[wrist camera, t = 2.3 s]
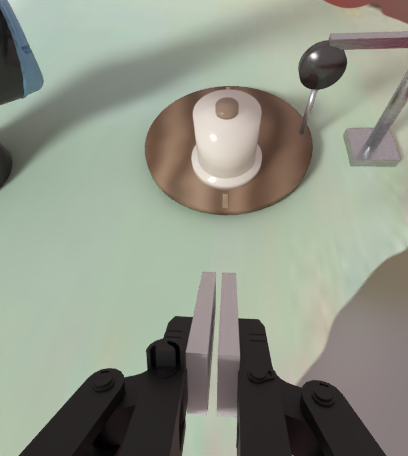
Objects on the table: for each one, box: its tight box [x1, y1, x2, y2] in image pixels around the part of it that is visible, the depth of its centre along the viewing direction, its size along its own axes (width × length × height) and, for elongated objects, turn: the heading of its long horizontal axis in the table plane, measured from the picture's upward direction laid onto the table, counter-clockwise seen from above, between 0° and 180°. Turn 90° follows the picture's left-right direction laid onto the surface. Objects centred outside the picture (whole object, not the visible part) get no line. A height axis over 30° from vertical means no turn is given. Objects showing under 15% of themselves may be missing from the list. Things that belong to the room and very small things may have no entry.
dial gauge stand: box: [298, 31, 408, 166], centre depth 41 cm, size 18×7×20 cm, turn 87°
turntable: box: [145, 86, 313, 215], centre depth 49 cm, size 28×28×2 cm
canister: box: [191, 89, 262, 190], centre depth 42 cm, size 11×11×11 cm
